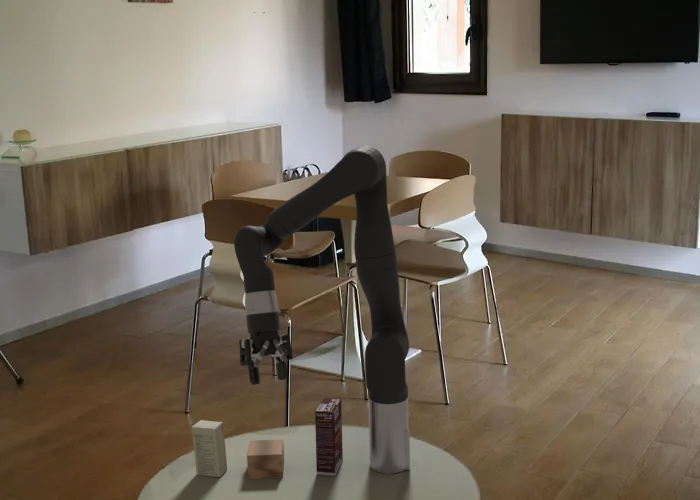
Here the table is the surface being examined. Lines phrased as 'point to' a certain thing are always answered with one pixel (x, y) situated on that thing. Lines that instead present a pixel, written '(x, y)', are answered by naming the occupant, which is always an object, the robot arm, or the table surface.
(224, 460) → the skincare box
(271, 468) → the brown wooden block
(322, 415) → the supplement box
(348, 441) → the table surface
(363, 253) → the robot arm
